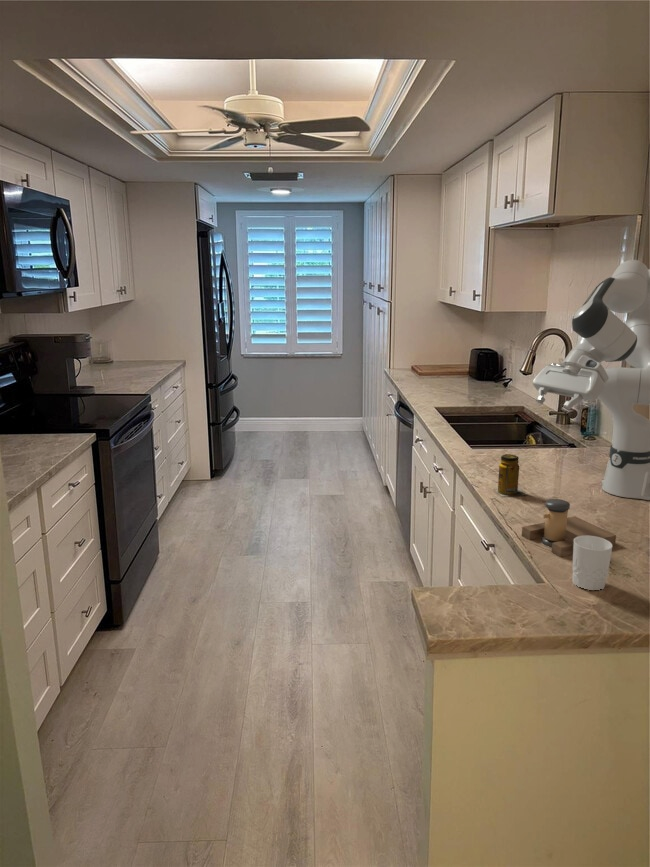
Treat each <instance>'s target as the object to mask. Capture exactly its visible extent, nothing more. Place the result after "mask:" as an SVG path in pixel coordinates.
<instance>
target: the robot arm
mask: <svg viewBox="0 0 650 867" xmlns="http://www.w3.org/2000/svg"><path fill="white" fill-rule="evenodd" d="M615 313H617V314H628V316H627V318H626V321H625V323H624V322H623V320H621V319H620V318H619V317H618V316H617V315H616V314H615ZM571 327H572V331H573V332H575V333H576V334H577V335H578V336H579V338H578V339H577V341H576V345H575V346H574V347H573V348H571V350H570V351H569V352H568V354H567V355H566V357H565V358H564V359H563V361H562V362H561V364H560V363H559V364H558V363H554V362H553V363H551V364H548V365H546V366H544V367H543V368H542V369H541V370H540V371H539V372H538V373H537V374H536V376H535V377H533V378H534V379H533V380H532V385H533V387H534V388H535V390H537V391H538V396H537V398H535V400H536V403H537V404H541V405H542V404H544V402H545V401H546V399H545V395H547V394H548V393H549V394H554V395H560V396H565V397H570V398H571V399H570V400H566V401H565V402H564V404H563V408H564V409H565V410H568V411H571V410H572V408H573V407H574V406H576V405H577V404H579V403H581V402H582V401H583V400H585V401H589V402H593V401H595V400H596V399H598V401H600V402H602V404H604V406H605V407H606V408H607V410H608V411H609V414H610V415H611V419H612V429H613V430H612V444H611V445H610V446H609V447H610V449H609V451H608V452H609V454H608V455H609V456H608V457H609V459H608V460H607V463H606V464H607V465H606V469H605V472H604V477H603V479H602V478H601V479H602V480H601V484H602V486H601V489H602V490H603V491H604V492H606V493H607V494H611V495H613V496H617V497H621V498H622V497H623V498H628V499H640V500H646V501H650V419H649V418H647V417H646V416H644V415H642V414H640V413H638V412H636V410H634V406H635V405H638V406H639V405H640V406H650V268H648V266H647V265H646V264H645V263H643V262H642V261H641V260H638V259H629V260H625V261H624V262H622V263H620V264H619V265H618V266H617V267H616V269H615V270H614V271H613V273H612V275H611V276H610V277H607V278H605V279H604V280H603V281H602V282H600V283H599V284H597V286H595V288H594V289H593V291H592V292H591V293H590V294H589V296H588V297H587V299H586V300H585V302H584V303H582V306H580V308H579V309H578V310H577V311H575V313H574V315H573V316H572V320H571ZM603 361H605V362H606V363H607V362H608V363H609V362H610V363H613V362H622V361H625V362H626V363H627V364H628V365H629V366H631V367H624V366H623V367H622V366H621V367H618V366H615V367H608V368H604V366H603V365H602V363H601V362H603Z"/></svg>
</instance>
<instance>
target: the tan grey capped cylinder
mask: <svg viewBox="0 0 650 867" xmlns="http://www.w3.org/2000/svg"><path fill="white" fill-rule="evenodd" d="M544 506H545V507H546V508H545V510H546V511H545V513H544V514H543V519H545V520H544V521H545V530H544V536H543V537H541V538H542V540H541V543H542V544H543V545H544V546H546V547H548V546H549V548H552V543H554V542H559V541H563V540H567V539H565V535H566V524H567V518H568V512H569V510H570V507H571V503H570V502H569V501H567V500H565V499H558V498H549V499H547V500H545V504H544Z"/></svg>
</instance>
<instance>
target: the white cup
mask: <svg viewBox="0 0 650 867" xmlns="http://www.w3.org/2000/svg"><path fill="white" fill-rule="evenodd" d="M613 546H614V545H612V543H611V542H609V541H608V540H606V539H603V538H600V537H596V536H578V537H576V538H574V544H573V554H572V578H571V581H572V583H573V585H574V584H575V586H576V585H577V586H578V587H577V586H576V587H577V588H579V587H581V588H584V589H590V590H599V591H601V590H600V589H602V590H604V589H605V586H606V583H607V577H608V574H609V570H610V563H611V559H612V551H613ZM581 588H580V589H581ZM584 589H583V590H584Z"/></svg>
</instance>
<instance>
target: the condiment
mask: <svg viewBox="0 0 650 867" xmlns="http://www.w3.org/2000/svg"><path fill="white" fill-rule="evenodd" d="M498 466H499V467H498V480H497V488H493V490H494V491H495V492H496V494H498V495H499V496H501V497H517V496H528V494H527V493H526V492H525V491H523V490H522V489H521V488H520V487H519V477H520V476H519V475H520V464H519V456H517V455H516V454H512V453H511V454H508V453H506V454H502V455H501V456H500V463H499V465H498Z"/></svg>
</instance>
